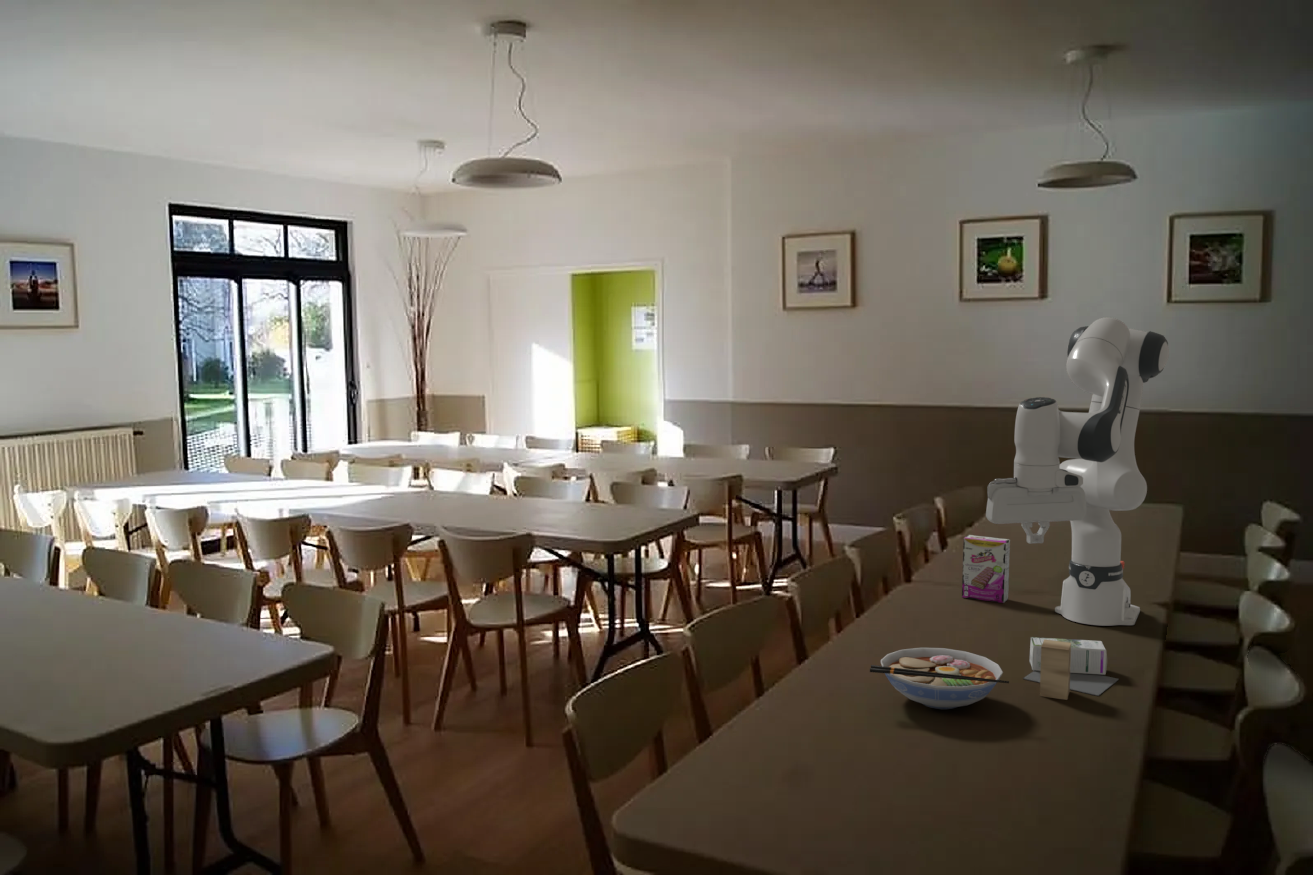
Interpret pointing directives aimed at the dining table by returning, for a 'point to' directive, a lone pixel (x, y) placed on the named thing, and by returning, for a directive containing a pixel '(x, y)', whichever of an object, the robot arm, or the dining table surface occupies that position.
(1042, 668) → the oak block
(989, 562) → the candy bar box
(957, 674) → the ramen bowl
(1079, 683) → the rubber mat
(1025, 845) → the dining table surface
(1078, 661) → the syrup box
